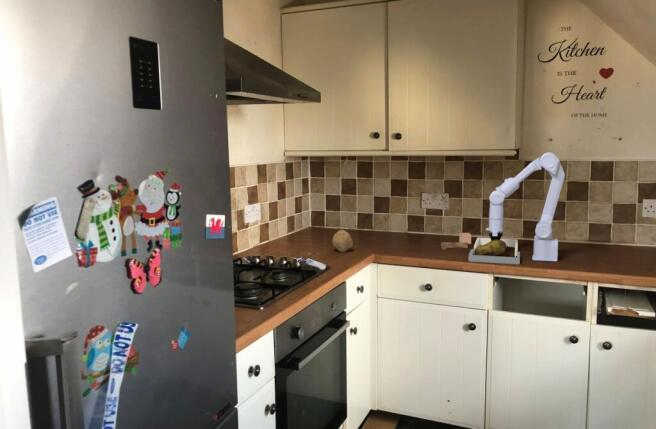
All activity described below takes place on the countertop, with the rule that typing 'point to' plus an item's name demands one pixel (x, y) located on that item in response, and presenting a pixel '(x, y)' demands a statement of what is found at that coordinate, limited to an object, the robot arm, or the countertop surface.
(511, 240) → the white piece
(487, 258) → the frame
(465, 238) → the terracotta block
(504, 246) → the potato
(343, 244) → the natural sponge
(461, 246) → the crook tool
